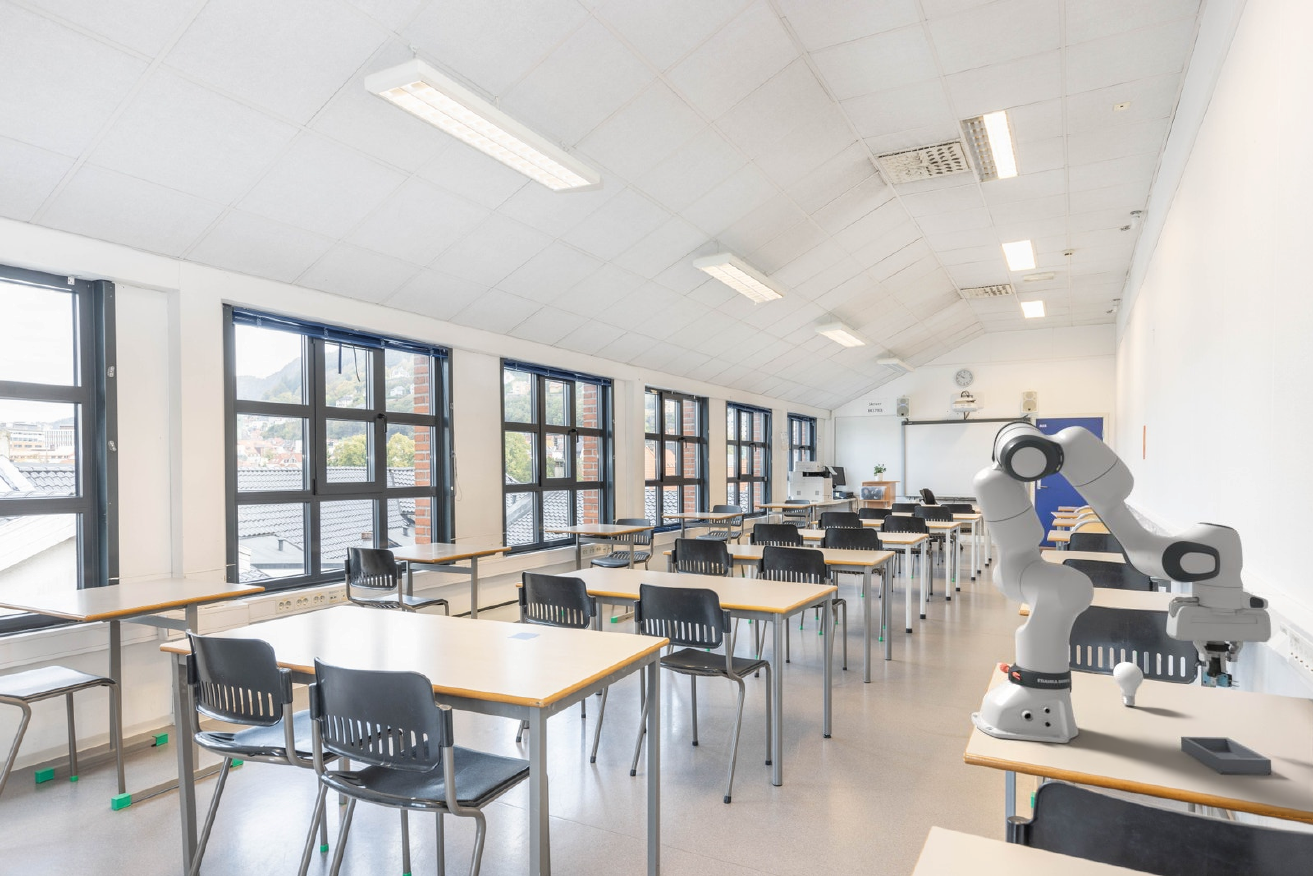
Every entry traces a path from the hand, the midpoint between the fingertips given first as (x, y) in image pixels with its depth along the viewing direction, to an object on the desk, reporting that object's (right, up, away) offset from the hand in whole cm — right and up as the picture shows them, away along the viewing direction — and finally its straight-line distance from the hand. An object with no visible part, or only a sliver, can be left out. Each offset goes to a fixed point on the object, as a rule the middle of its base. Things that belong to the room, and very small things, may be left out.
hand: (1218, 661), depth 156 cm
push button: (0, -6, 0) cm, 6 cm away
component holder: (-5, -18, -8) cm, 21 cm away
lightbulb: (-2, -20, +26) cm, 32 cm away
